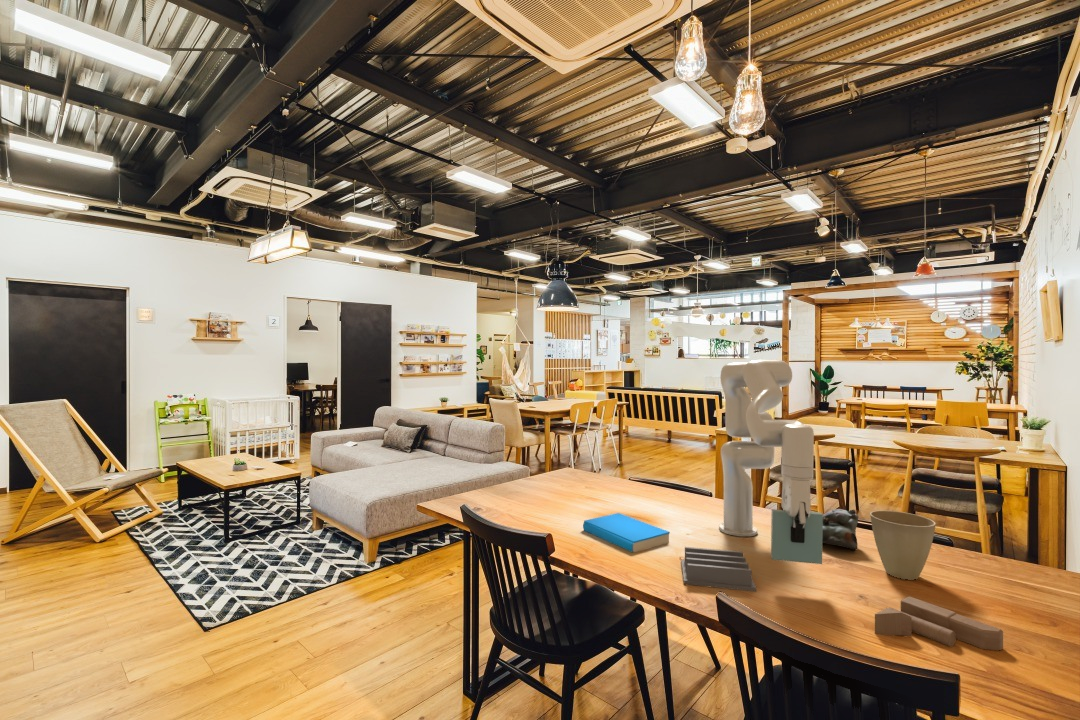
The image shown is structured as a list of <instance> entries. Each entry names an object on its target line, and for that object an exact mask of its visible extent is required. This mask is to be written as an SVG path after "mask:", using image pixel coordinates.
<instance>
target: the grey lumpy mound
mask: <svg viewBox="0 0 1080 720" xmlns="http://www.w3.org/2000/svg"><path fill="white" fill-rule="evenodd" d="M858 522H859V514H856V509H850V510H846V509H841V508H837V509H835V508H834V509H831V510H830V511H827V512H826V513H824V514H823V535H822V544H828V545H833V546H838V547H842V548H846V549H850V550H853V551H857V550H858V548H859V547H858V538H857V535H856V533H857V532H856V531H857V530H856V529H857V528H858V527H857V526H858Z"/></svg>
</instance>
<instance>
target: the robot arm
mask: <svg viewBox="0 0 1080 720" xmlns="http://www.w3.org/2000/svg"><path fill="white" fill-rule="evenodd" d="M719 377H720V384H721V388H722V390H723V394H724V400H725V401H724V403H725V406H724V409H725V411H724V413H725V414H724V415H725V418H724V420H725V422H724V423H725V431H726V434H727V435H728V436H730V437H732V438H740V439H741V438H748V439H749V438H750V439H752V440H751V441H749V440H748V441H747V440H733V441H732V440H731V441H727V442H725V443H723V444H722V446H721V448H720V458H721V465H722V472H723V473H722V474H723V522H722V523H720V524H719V525H718V529H719V531H720V532H721V533H723V534H727V535H730V536H735V537H742V538H743V537H748V538H749V537H755V536H756V535H757V534H758V528H757V527H755V526H754V525H753V523H754V522H753V515H754V514H753V503H754V501H753V490H754V489H753V480H752V479H751V477H750V475H749V474H748V473H747V472H746V470H749V469H751V470H752V469H753V470H758V469H759V470H764V469H766V470H767V469H770V468H771V467H773V464H774V461H775V448H781V453H780V454H781V457H780V458H781V465H780V467H781V468H780V472H781V475H780V476H781V477H782V488H781V501H780V502H781V508H782V510H785V512H786V513H787V514H788V515H789V516H790V517H792V526H791V541H792V542H796V543H804V542H805V524H806V520H805V517H806V518H809V517H810V512H812V511H811V505H812V503H811V501H812V500H811V483H810V481H812V480H814V451H815V450H814V447H815V446H814V443H815V441H814V440H815V437H814V435H815V431H814V429H813V427H811V426H810V425H807V424H804V423H803V422H802V421H800V420H796V419H773V416H772V415H771V414H770V413H769V412H767V411H769V410H771V409H774V408H776V407H777V406H779V404H781V402H782V401H783V399H784V393H783V391H782V388H783V387H784V388H785V387H787V386H789V385H790V384H791V382H792V380H793V371H792V368H791V366H790V364H789V363H787V362H786V361H784V360H781V359H757V360H755V359H754V360H751V361H748V362H746V361H745V362H741V361H740V362H731V363H727V364H726V363H725V365H723V366H722V368H721V370H720V376H719ZM746 388H747V389H746ZM797 514H799V515H797Z"/></svg>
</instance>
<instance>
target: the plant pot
mask: <svg viewBox="0 0 1080 720" xmlns="http://www.w3.org/2000/svg"><path fill="white" fill-rule="evenodd" d="M869 515H870V521H871V522H870V523H871V528H872V532H873V533H872V534H873V536H874V541H875V544H876V545H875V546H876V548H877V552H878V555H879V557H880V560H881V563H882V566H883V568H884V571H885V573H886V572H887V574H888V575H889V574H890V576H891V575H892V576H891V577H893V576H894V578H896V577H897V579H900V578H901V579H900V580H905V579H908V580H907V581H915V580H914V579H916V580H918V579H920V578H919V577H920V575H921V573H922V572H923V570H924V568H925V566H926V562H927V560H928V558H929V555H930V551H931V548H932V544H933V540H934V537H935V536H934V534H935V531H936V530H935V529H936V523H937V522H935V521H934V520H932V519H930V518H927V517H926V516H922V515H919V514H913V513H910V512H904V511H896V510H874V511H871V512H869Z"/></svg>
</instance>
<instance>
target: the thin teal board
mask: <svg viewBox="0 0 1080 720" xmlns="http://www.w3.org/2000/svg"><path fill="white" fill-rule="evenodd" d="M797 515H799V514H797ZM823 515H824V514H823V513H822V512H816V511H815V512H814V511H810V517H809V518H806V517H805V520H806V524H805V542H804V543H796V542H792V541H791V526H792V517H790V516H789V515H788V514H787V513H786V512H785V510H783V509H774V508H773V509H771V517H770V518H771V520H770V522H771V527H770V529H771V530H770V536H771V537H770V541H771V543H770V558H771V560H772V561H782V562H783V561H785V562H795V563H802V564H803V563H806V564H816V565H823V543H822V535H823Z"/></svg>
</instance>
